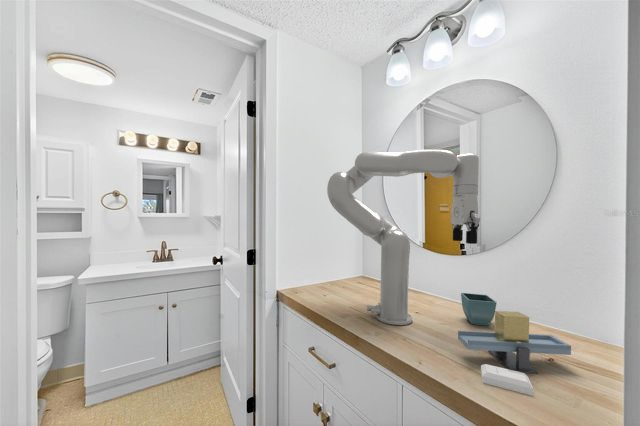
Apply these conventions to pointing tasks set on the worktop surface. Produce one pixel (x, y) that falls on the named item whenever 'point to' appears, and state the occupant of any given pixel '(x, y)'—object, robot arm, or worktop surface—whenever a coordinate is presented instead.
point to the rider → (511, 326)
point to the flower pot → (478, 308)
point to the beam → (513, 343)
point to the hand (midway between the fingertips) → (464, 242)
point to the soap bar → (506, 379)
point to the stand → (515, 360)
